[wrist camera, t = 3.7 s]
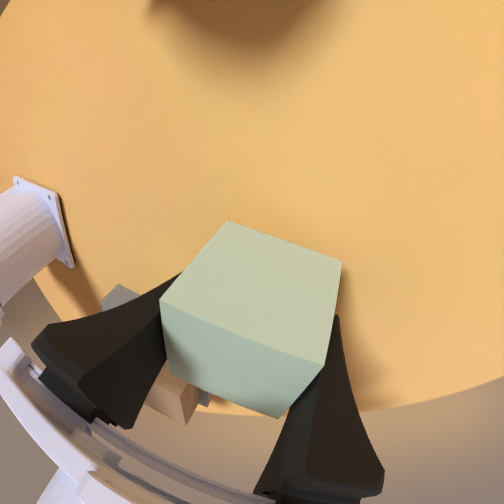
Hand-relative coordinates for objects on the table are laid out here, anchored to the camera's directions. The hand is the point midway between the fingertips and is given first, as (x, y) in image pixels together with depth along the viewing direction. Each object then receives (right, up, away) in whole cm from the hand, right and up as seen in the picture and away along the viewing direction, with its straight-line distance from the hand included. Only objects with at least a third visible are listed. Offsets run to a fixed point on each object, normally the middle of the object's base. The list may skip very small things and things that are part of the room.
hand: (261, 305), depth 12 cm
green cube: (0, +1, +1) cm, 1 cm away
